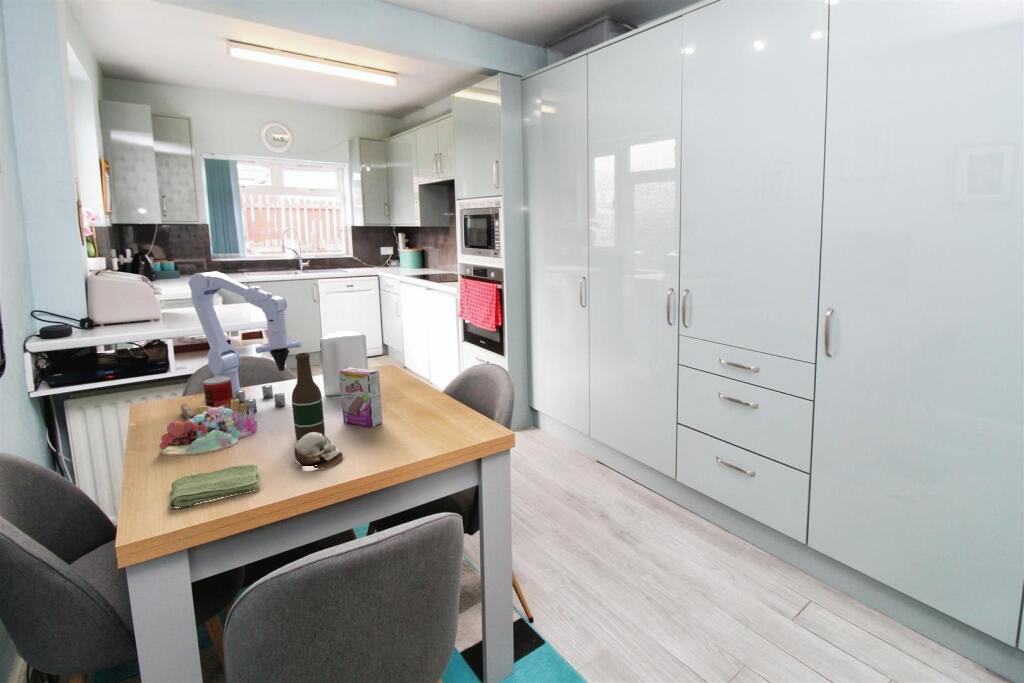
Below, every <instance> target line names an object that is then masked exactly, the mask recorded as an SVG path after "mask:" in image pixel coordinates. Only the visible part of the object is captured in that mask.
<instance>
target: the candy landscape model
mask: <svg viewBox="0 0 1024 683" xmlns="http://www.w3.org/2000/svg"><path fill="white" fill-rule="evenodd" d="M246 407H247V402H246V403H243V404H239V399H235V398H233V399H232V400H231V407H230V409H228V408H224V407H218V408H214V407H210V406H205V405H199V406H197V408H196V409H195V414H196V416H194V418H192V419H188V420H185V421H183V422H182V421H180V420H174V421H171V422H170V423H169V424H168V425H167V427H166V430H167V431H166V433H165V432H164V433H163V434H162V435H161V437H160V438H161V443H159V452H161V454H162V455H163V454H164V456H165V455H166V456H168V455H170V456H175V455H180V456H191V455H190V454H192V455H203V454H207V453H212V451H214V452H217V451H221V450H223V449H228V448H231V447H233V446H235V445H237V444H238V443H239V440H241V439H243V438H246V437H248V436H251V435H252V434H255V433H256V431H257V429H258V420H255V413H254V409H253V408H252V412H251V408H250V409H249V414H247V413H246ZM206 452H207V453H206ZM202 453H203V454H202ZM185 454H187V455H185Z"/></svg>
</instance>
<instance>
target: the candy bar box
mask: <svg viewBox="0 0 1024 683" xmlns="http://www.w3.org/2000/svg"><path fill="white" fill-rule="evenodd" d="M339 374H340V385H341V395H340V396H341V404H342V405H341V406H342V418H343V424H349V425H355V426H362V427H365V428H367V427H368V428H375V427H377V426H379V425H381V424H383V414H382V401H381V400H382V398H381V385H380V382H381V381H380V371H379V370H376V369H369V368H368V369H361V368H353V367H349V368H346V369H343V370H340V371H339Z"/></svg>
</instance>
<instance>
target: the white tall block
mask: <svg viewBox="0 0 1024 683" xmlns="http://www.w3.org/2000/svg"><path fill="white" fill-rule="evenodd" d="M366 339H367V337H366V335H365V334H364V333H362V332H359V331H356V330H338V331H334V332H331V333H329V334H327V335H323V336H322V337H321V338H320V339H319V347H320V357H321V369H322V378H323V379H322V380H323V389H324V396H327V397H329V396H331V397H333V396H341V385H340V374H339V371H340V370H343V369H346V368H349V367H353V368H361V369H369V364H368V353H367V352H368V351H367V350H368V349H367V340H366Z"/></svg>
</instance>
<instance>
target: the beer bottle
mask: <svg viewBox="0 0 1024 683" xmlns="http://www.w3.org/2000/svg"><path fill="white" fill-rule="evenodd" d="M310 358H311V355H310V353H308V352H301V353H300V352H299V353H297V354H296V355H295V360H296V374H297V376H296V377H297V379H296V385H295V386H294V388H293V390H292V393H291V406H292V407H291V408H292V415H293V422H294V423H293V426H294V434H295V439H296V441H297V442H298V441H299V440H300V439H301V438H302V437H303V436H304V435H306V434H308V433H311V432H316V433H321V434H322V435H323V437H325V434H326V431H325V429H326V428H325V427H326V426H325V420H324V419H325V418H324V409H323V408H324V406H323V397H322V391H321V390H320V387H319V386H318V384H316V383H315V381H314V378H313V374H312V368H311V361H310Z"/></svg>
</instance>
